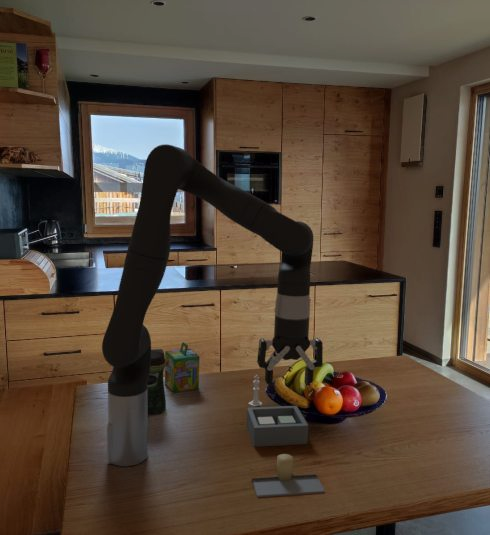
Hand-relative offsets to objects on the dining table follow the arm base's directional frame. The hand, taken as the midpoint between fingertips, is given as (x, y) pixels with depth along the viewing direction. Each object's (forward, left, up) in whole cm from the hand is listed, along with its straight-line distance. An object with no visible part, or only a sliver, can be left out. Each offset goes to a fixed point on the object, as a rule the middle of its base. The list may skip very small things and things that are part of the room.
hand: (288, 384), depth 110 cm
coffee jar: (-32, +39, -23) cm, 55 cm away
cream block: (-1, +19, -21) cm, 29 cm away
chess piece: (0, +39, -23) cm, 45 cm away
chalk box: (-22, +57, -23) cm, 65 cm away
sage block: (+5, +19, -21) cm, 29 cm away
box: (+2, +19, -22) cm, 29 cm away
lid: (0, 0, -23) cm, 23 cm away
